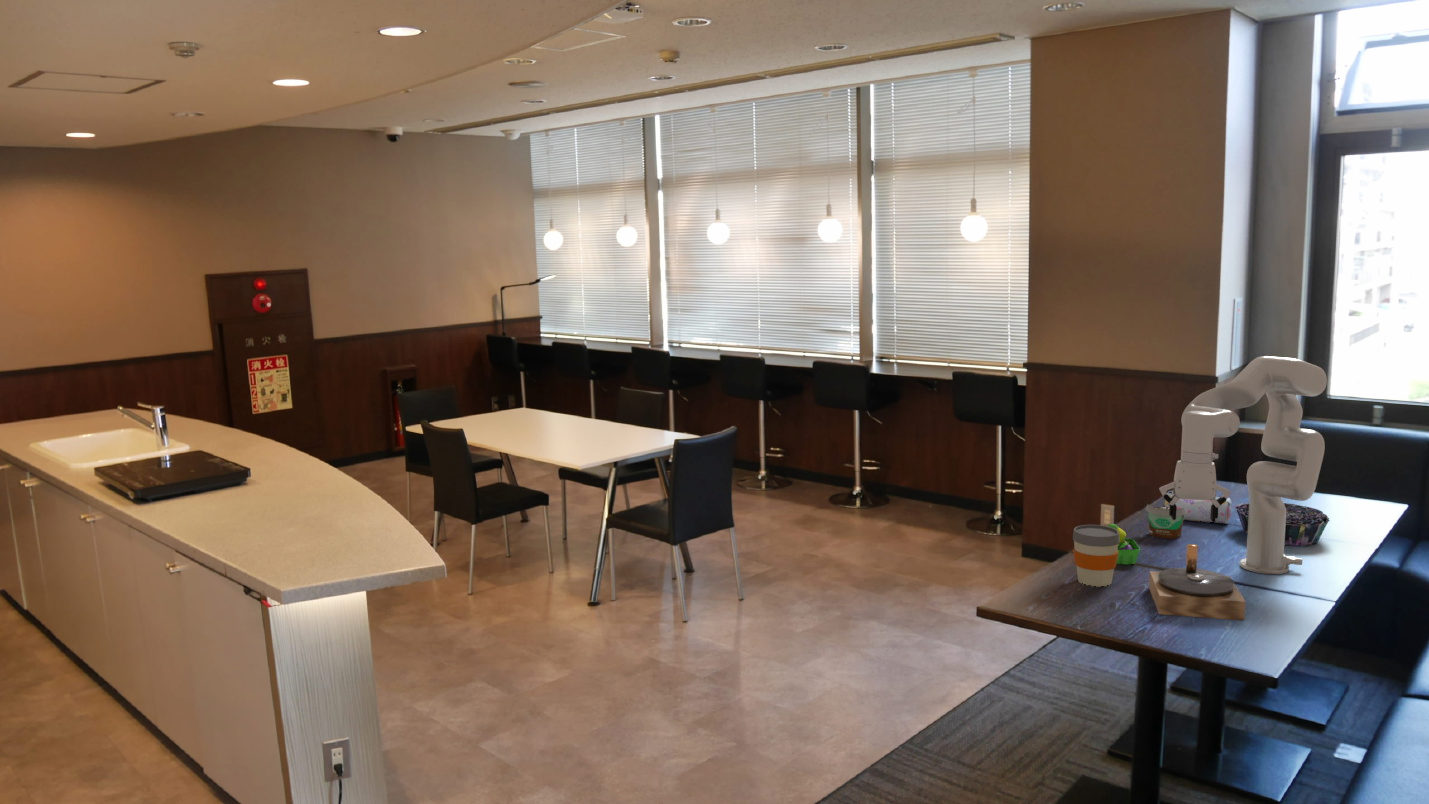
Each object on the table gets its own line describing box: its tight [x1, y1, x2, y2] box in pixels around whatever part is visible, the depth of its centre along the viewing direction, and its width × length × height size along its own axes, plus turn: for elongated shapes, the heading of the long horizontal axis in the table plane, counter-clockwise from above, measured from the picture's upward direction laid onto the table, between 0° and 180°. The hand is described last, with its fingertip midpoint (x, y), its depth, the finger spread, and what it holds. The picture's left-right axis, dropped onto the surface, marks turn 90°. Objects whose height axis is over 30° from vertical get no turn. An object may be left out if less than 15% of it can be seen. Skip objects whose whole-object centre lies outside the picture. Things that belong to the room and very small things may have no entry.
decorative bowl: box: [1234, 502, 1331, 547], centre depth 318 cm, size 26×28×10 cm
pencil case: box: [1162, 490, 1232, 525], centre depth 339 cm, size 21×9×10 cm, turn 52°
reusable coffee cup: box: [1072, 524, 1120, 588], centre depth 281 cm, size 13×12×15 cm
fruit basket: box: [1107, 523, 1141, 565], centre depth 300 cm, size 11×9×11 cm
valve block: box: [1148, 570, 1246, 621], centre depth 263 cm, size 20×20×5 cm
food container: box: [1145, 503, 1187, 540], centre depth 321 cm, size 12×6×10 cm, turn 68°
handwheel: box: [1158, 543, 1235, 596], centre depth 262 cm, size 18×18×9 cm
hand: (1193, 519), depth 267 cm, fingers open, 9 cm apart
